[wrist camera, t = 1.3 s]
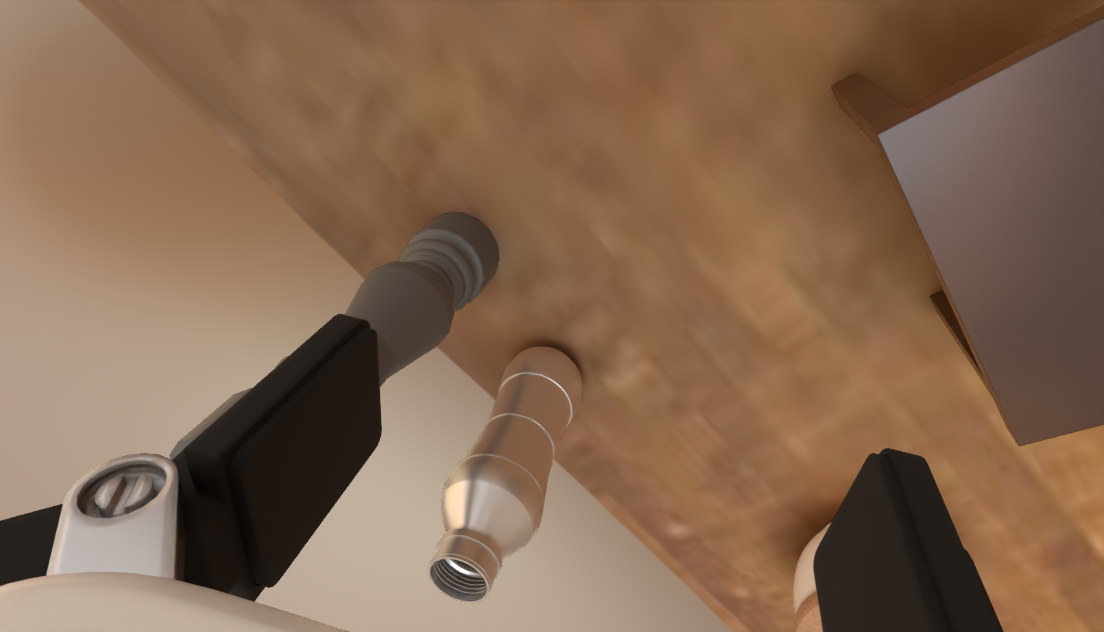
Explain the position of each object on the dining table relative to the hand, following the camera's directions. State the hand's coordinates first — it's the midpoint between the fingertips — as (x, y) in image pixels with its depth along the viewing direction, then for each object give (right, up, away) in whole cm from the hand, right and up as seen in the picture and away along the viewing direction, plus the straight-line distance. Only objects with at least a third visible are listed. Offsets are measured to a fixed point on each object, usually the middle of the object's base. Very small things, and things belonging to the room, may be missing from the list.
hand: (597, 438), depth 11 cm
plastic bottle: (-1, -2, +37) cm, 37 cm away
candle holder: (-8, +7, +34) cm, 35 cm away
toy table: (+24, +11, +22) cm, 35 cm away
